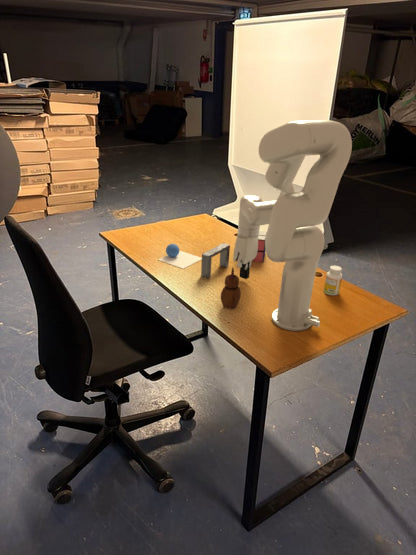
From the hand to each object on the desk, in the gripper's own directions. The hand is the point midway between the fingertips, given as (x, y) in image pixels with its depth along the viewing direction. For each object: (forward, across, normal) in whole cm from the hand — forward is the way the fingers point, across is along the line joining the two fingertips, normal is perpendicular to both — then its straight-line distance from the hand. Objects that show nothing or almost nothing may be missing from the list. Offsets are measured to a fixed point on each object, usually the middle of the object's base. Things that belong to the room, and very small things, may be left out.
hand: (244, 277), depth 158 cm
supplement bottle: (+2, -13, +29) cm, 32 cm away
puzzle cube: (+2, -22, -9) cm, 24 cm away
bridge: (+2, 0, -13) cm, 13 cm away
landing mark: (+2, 0, -30) cm, 30 cm away
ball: (-1, 0, -34) cm, 34 cm away
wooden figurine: (+2, +19, +6) cm, 20 cm away
